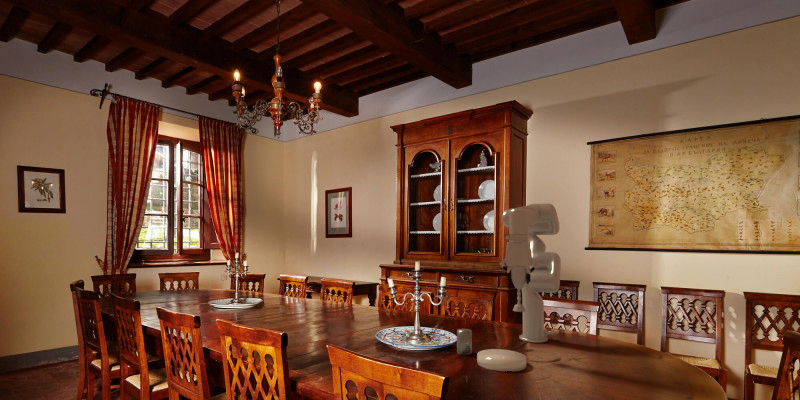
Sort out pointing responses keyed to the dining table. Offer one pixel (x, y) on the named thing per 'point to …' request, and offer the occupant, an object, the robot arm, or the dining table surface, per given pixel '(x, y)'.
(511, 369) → the stand
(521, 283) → the chalice
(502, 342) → the dining table surface
